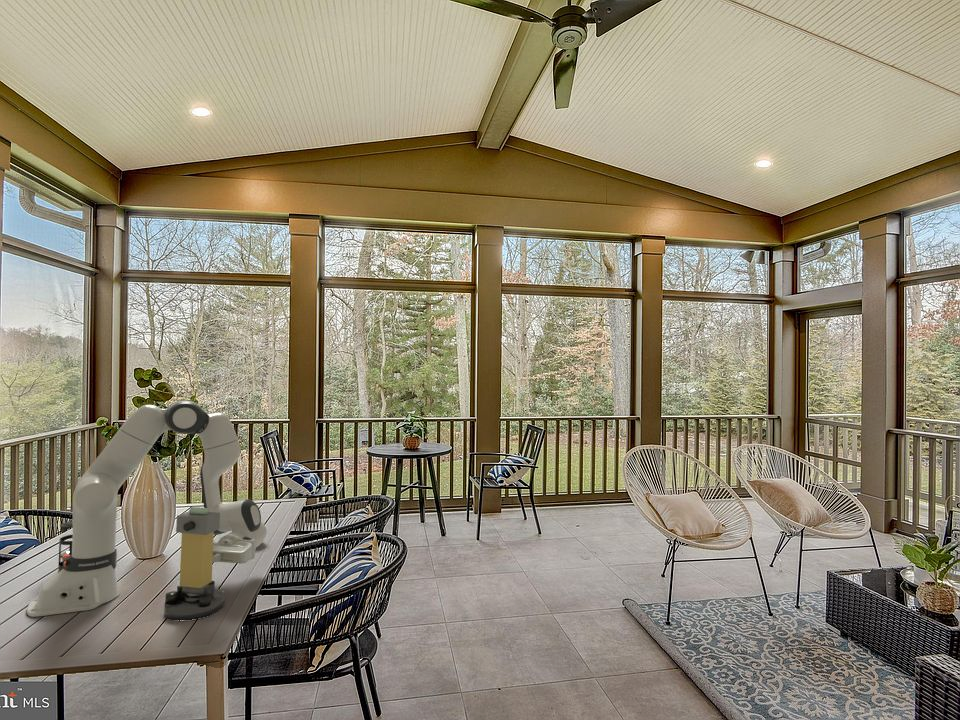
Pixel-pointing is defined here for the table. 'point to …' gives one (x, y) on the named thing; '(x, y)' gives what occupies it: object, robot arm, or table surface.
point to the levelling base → (193, 603)
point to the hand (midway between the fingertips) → (204, 561)
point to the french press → (65, 542)
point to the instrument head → (196, 548)
